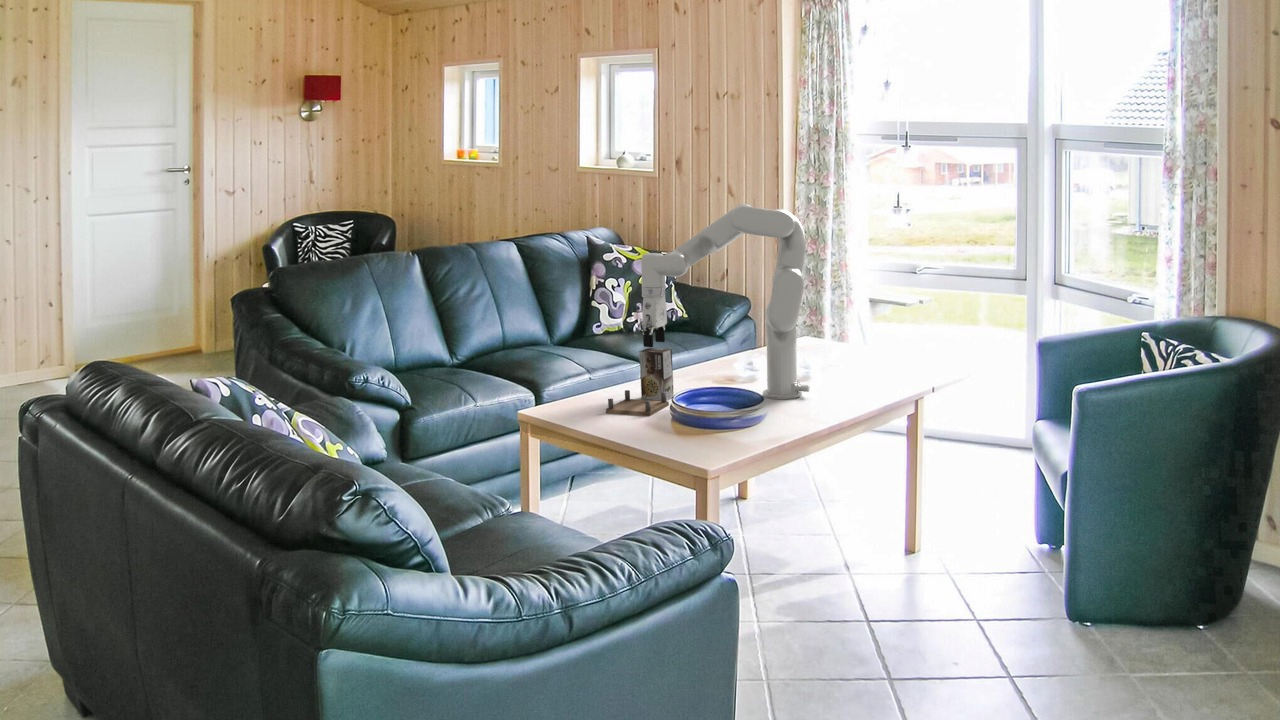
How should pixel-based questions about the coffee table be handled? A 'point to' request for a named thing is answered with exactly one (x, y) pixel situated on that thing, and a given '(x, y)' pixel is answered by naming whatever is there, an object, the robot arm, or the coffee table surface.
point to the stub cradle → (637, 405)
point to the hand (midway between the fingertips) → (654, 344)
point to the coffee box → (656, 373)
